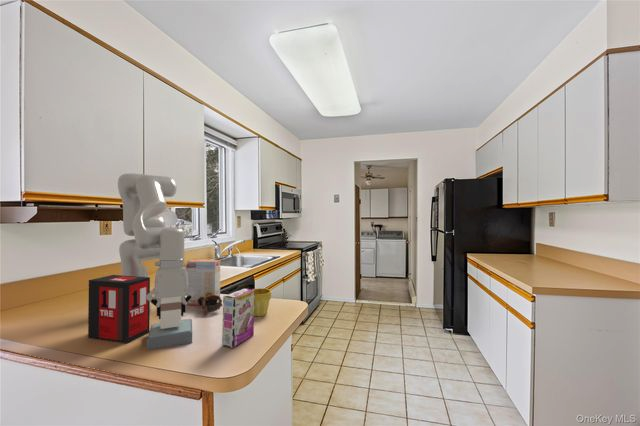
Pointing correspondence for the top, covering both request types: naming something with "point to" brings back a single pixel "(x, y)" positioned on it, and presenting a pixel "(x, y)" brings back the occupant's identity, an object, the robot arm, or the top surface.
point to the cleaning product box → (118, 308)
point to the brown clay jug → (210, 303)
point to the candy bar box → (238, 317)
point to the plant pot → (261, 301)
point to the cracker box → (203, 279)
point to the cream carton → (170, 312)
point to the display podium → (169, 335)
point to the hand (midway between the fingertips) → (171, 315)
